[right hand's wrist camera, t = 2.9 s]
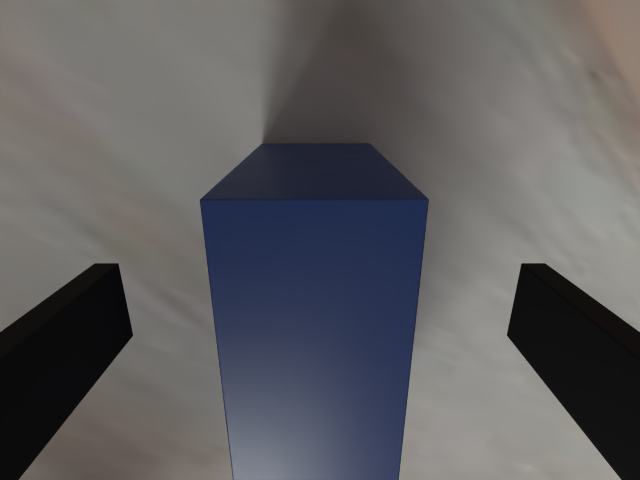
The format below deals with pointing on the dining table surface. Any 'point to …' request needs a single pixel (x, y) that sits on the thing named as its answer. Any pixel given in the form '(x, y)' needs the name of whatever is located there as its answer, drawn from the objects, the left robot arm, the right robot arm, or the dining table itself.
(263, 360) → the box
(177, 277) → the dining table surface
